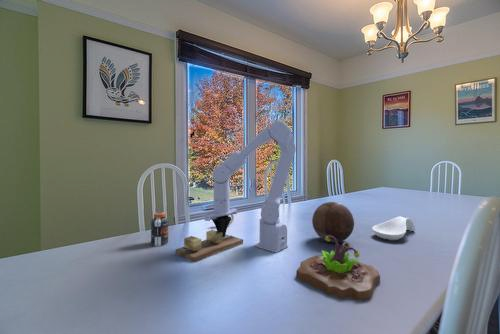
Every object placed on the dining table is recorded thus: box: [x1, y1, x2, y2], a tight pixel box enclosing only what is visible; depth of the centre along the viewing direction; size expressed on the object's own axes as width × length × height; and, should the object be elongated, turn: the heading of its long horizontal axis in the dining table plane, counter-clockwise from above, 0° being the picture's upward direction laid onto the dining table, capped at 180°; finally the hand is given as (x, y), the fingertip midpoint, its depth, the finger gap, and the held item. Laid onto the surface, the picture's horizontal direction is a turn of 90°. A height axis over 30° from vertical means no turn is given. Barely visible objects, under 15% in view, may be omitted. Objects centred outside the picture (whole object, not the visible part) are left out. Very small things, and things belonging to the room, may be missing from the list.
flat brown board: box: [175, 233, 244, 263], centre depth 88 cm, size 10×22×5 cm, turn 140°
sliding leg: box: [205, 229, 222, 243], centre depth 89 cm, size 6×3×4 cm, turn 50°
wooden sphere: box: [311, 201, 355, 243], centre depth 96 cm, size 15×15×15 cm
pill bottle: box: [150, 211, 169, 247], centre depth 92 cm, size 6×6×11 cm
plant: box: [295, 235, 381, 301], centre depth 67 cm, size 20×20×11 cm
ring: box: [228, 214, 235, 226], centre depth 115 cm, size 7×3×8 cm, turn 108°
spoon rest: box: [371, 215, 416, 241], centre depth 104 cm, size 24×12×7 cm, turn 125°
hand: (221, 236), depth 91 cm, fingers closed
